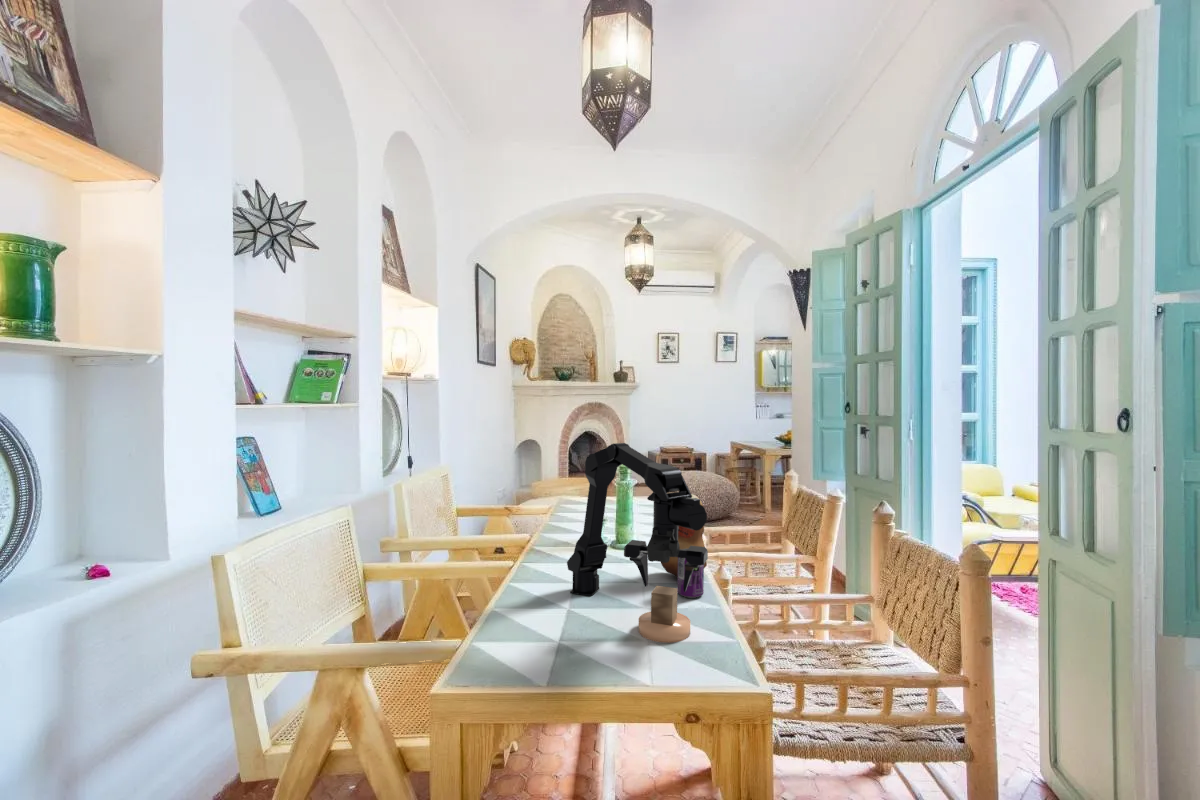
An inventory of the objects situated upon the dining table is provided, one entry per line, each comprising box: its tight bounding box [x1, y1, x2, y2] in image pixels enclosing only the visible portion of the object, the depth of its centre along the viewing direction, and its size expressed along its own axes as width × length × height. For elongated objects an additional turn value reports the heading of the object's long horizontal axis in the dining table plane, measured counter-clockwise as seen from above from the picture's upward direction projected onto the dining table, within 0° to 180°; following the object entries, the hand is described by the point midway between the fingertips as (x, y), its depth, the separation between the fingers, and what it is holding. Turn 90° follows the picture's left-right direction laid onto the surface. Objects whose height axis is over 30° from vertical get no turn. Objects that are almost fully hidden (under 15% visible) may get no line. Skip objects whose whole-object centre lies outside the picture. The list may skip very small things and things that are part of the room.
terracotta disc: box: [638, 610, 691, 644], centre depth 134 cm, size 12×12×3 cm
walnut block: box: [650, 585, 678, 626], centre depth 134 cm, size 5×5×7 cm
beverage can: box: [676, 549, 705, 599], centre depth 158 cm, size 7×7×12 cm
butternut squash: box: [660, 493, 708, 579], centre depth 173 cm, size 14×13×25 cm
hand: (665, 588), depth 134 cm, fingers open, 9 cm apart
